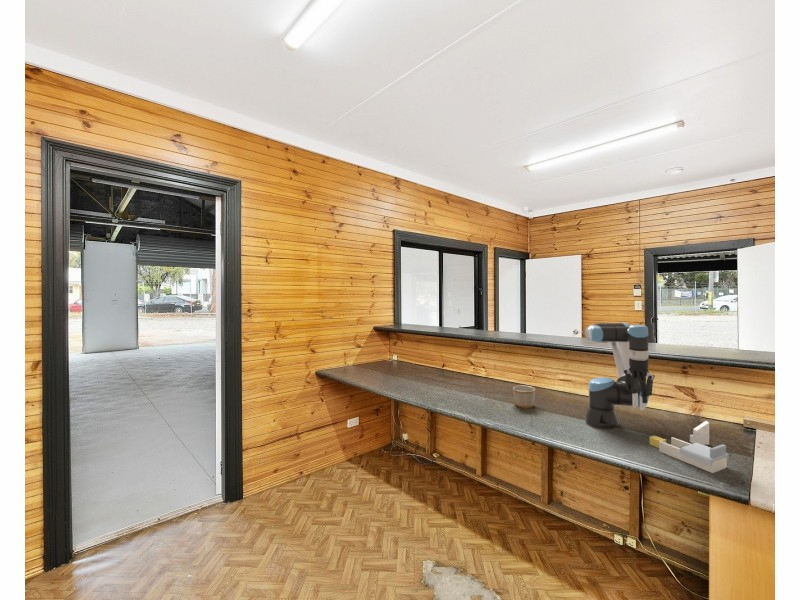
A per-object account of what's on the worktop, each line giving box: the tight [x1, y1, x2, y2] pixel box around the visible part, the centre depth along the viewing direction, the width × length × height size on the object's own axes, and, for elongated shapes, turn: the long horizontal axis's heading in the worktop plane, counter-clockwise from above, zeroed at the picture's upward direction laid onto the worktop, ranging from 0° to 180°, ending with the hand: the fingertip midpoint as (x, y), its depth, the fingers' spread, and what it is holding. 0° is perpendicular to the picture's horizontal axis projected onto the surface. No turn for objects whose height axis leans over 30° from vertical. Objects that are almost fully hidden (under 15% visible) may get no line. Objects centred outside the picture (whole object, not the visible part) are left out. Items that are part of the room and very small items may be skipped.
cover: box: [680, 443, 729, 466], centre depth 147 cm, size 11×11×6 cm
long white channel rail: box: [658, 436, 728, 474], centre depth 152 cm, size 20×9×4 cm, turn 22°
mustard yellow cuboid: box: [649, 435, 667, 449], centre depth 164 cm, size 5×4×4 cm
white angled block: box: [689, 420, 710, 446], centre depth 165 cm, size 4×10×9 cm
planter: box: [512, 384, 536, 409], centre depth 222 cm, size 13×13×10 cm
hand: (639, 408), depth 171 cm, fingers open, 3 cm apart
